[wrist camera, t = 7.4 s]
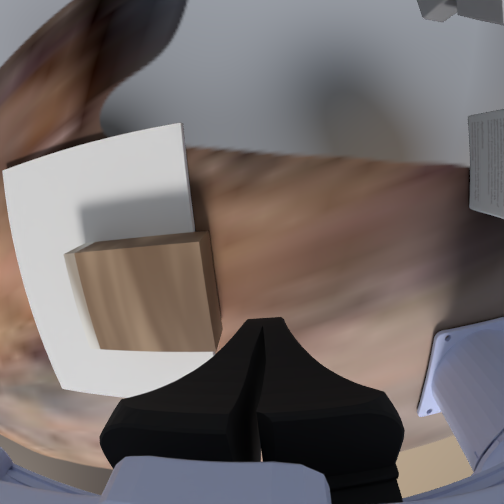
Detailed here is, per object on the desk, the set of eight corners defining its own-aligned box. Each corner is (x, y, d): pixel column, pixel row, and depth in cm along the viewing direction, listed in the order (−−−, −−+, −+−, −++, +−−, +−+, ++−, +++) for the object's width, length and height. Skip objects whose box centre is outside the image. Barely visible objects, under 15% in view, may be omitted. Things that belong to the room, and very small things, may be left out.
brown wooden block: (198, 241, 15) (63, 254, 16) (216, 351, 17) (89, 348, 17) (208, 230, 17) (85, 242, 18) (222, 329, 19) (106, 329, 20)
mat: (183, 123, 16) (180, 122, 16) (223, 397, 21) (222, 402, 21) (7, 170, 17) (2, 170, 17) (65, 385, 22) (62, 388, 22)
